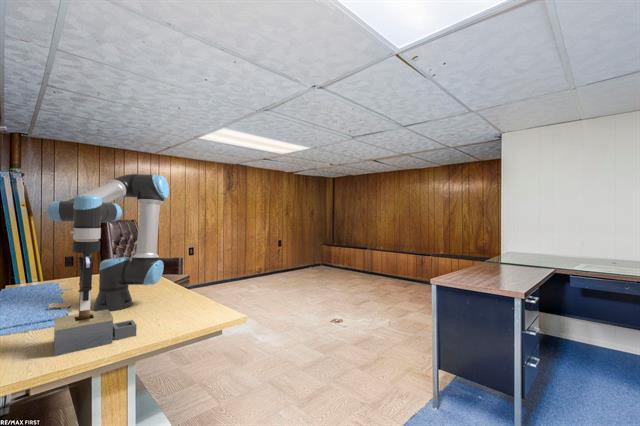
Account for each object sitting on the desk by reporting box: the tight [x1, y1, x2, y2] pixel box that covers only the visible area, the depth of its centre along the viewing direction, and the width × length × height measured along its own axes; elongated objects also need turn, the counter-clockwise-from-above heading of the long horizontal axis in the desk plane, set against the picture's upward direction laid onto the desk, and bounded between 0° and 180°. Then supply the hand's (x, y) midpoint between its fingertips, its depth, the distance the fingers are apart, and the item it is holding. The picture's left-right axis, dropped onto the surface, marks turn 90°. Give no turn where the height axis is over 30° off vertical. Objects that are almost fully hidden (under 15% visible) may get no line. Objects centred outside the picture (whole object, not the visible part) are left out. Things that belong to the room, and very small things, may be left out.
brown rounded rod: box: [78, 280, 91, 321], centre depth 103 cm, size 3×3×16 cm
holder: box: [113, 319, 137, 341], centre depth 111 cm, size 7×7×4 cm
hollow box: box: [53, 309, 114, 357], centre depth 103 cm, size 11×15×9 cm
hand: (84, 308), depth 103 cm, fingers closed on brown rounded rod, 3 cm apart
